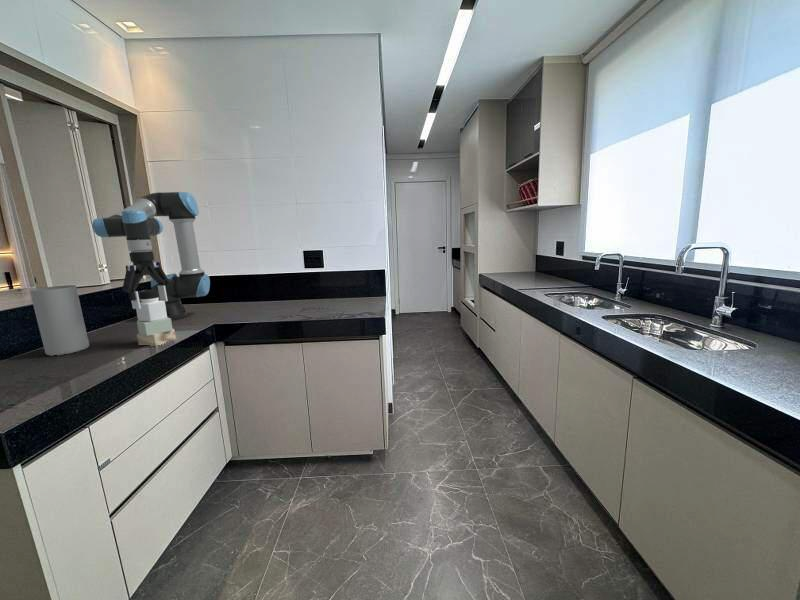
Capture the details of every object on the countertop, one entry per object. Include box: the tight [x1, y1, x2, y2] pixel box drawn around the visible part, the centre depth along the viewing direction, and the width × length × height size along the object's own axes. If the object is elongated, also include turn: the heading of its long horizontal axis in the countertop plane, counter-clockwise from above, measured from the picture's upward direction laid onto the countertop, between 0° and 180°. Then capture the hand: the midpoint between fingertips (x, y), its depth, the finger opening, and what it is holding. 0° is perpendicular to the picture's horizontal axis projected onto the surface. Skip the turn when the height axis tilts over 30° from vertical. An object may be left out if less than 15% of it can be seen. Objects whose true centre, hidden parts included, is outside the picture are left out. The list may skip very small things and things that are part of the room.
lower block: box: [136, 328, 177, 347], centre depth 140 cm, size 9×9×5 cm
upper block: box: [136, 317, 174, 336], centre depth 139 cm, size 9×9×5 cm
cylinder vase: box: [29, 284, 90, 357], centre depth 132 cm, size 12×12×25 cm
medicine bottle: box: [135, 289, 167, 322], centre depth 138 cm, size 7×7×12 cm
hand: (151, 304), depth 138 cm, fingers open, 13 cm apart
